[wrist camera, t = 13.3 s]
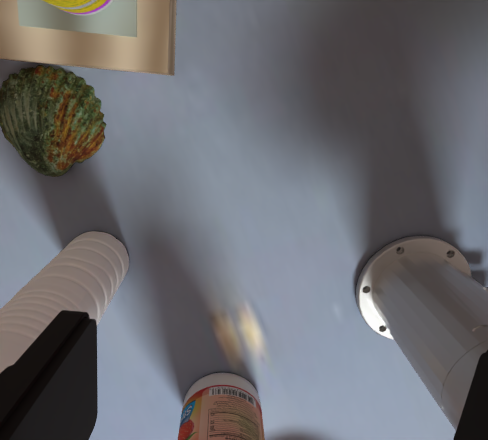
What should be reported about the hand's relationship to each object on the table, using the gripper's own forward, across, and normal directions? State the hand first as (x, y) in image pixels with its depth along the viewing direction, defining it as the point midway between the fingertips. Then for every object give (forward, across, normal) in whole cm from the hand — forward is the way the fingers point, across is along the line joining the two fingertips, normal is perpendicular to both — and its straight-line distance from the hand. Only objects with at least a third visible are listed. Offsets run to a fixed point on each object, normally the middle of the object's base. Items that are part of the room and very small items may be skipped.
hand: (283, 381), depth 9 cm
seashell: (+31, +19, -3) cm, 36 cm away
